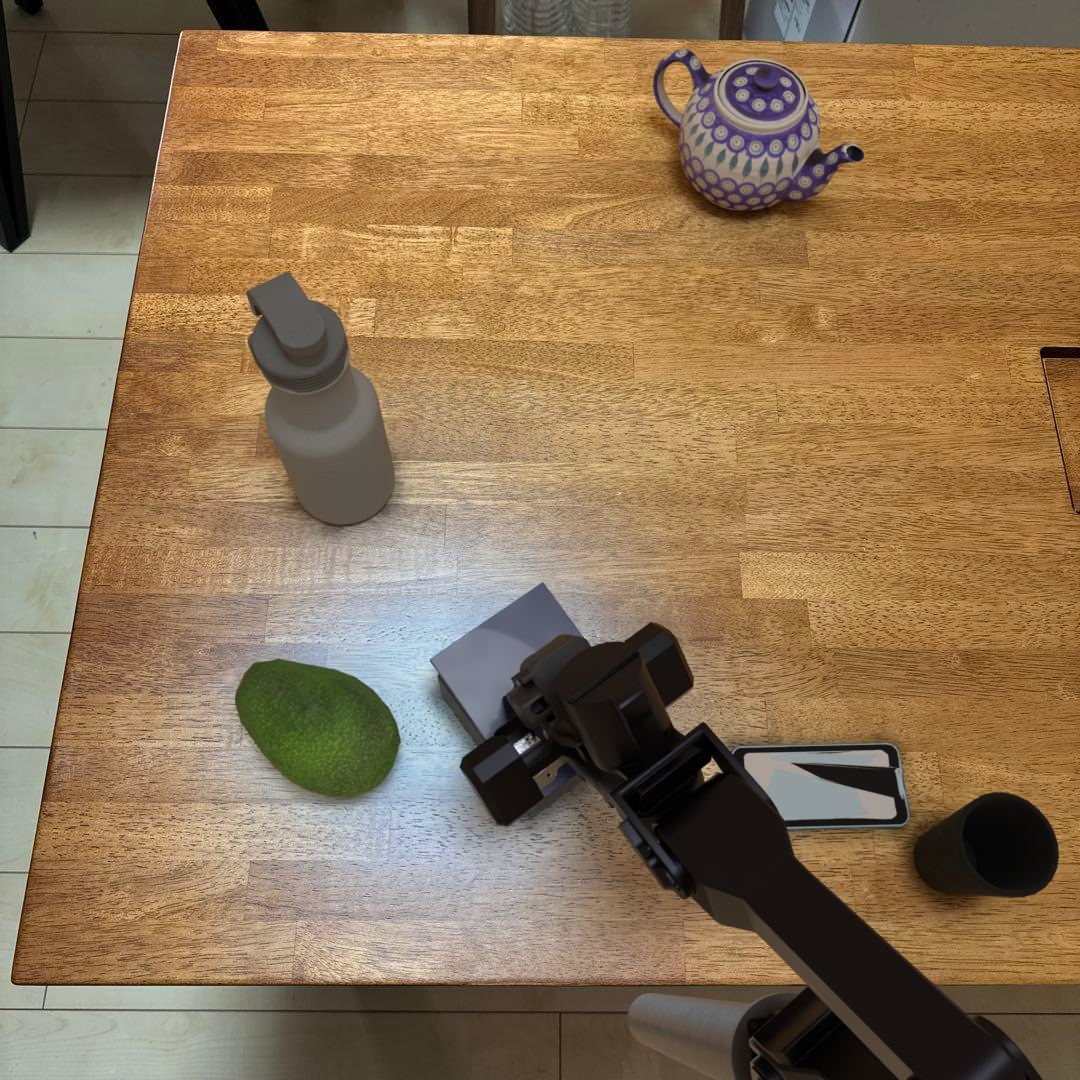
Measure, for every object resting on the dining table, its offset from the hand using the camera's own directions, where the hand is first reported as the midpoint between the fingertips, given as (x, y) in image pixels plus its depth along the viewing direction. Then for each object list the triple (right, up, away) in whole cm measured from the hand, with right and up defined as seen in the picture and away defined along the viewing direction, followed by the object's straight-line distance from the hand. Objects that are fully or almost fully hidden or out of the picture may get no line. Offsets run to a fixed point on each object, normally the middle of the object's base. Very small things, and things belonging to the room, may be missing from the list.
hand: (532, 681), depth 84 cm
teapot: (+23, +53, +34) cm, 67 cm away
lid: (0, -1, +1) cm, 1 cm away
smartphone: (+25, -10, +6) cm, 28 cm away
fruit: (-19, -6, +7) cm, 21 cm away
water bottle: (-19, +17, +17) cm, 30 cm away
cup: (+35, -16, +4) cm, 39 cm away
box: (0, -4, +8) cm, 9 cm away
